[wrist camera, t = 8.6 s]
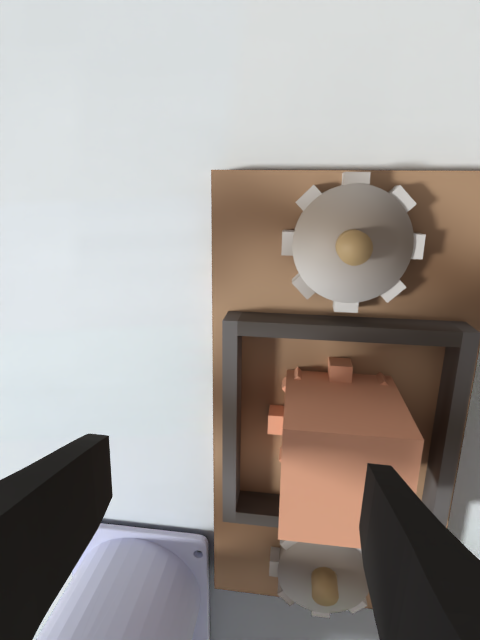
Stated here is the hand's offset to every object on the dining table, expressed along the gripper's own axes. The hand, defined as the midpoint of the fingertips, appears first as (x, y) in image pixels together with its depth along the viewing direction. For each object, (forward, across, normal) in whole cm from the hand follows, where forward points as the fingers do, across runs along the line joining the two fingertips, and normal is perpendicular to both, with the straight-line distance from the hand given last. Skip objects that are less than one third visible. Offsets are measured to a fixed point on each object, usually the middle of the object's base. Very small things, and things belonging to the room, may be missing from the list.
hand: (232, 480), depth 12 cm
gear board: (+9, -4, +2) cm, 10 cm away
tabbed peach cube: (+8, -4, +2) cm, 8 cm away
